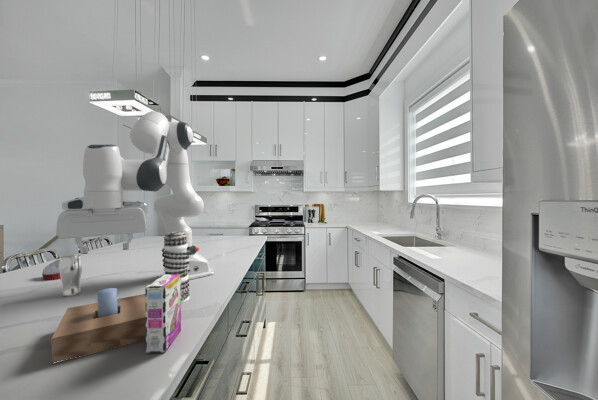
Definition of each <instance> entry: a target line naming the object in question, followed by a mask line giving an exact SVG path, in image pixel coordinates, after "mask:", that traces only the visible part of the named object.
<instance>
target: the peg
mask: <svg viewBox="0 0 598 400" xmlns="http://www.w3.org/2000/svg"><path fill="white" fill-rule="evenodd" d="M96 295H97V297H96V298H97V303H98V318H100V317H105V316H109V315H114V314H118V307H117V299H118V289H117V288H116V287H109V288H104V289H100V290H98V291H97V293H96Z"/></svg>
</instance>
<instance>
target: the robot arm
mask: <svg viewBox="0 0 598 400" xmlns="http://www.w3.org/2000/svg"><path fill="white" fill-rule="evenodd" d="M129 139H130V142H131V143H132V145H133V146H134V147H135V148H136V149H137V150H139V151H140V152H143V153H145V154H148V155H149V154H150V155H152V156H151V157H150V158H145V159H125V158H124V157H122V156H121V151H120V148H119V146H118V145H116V144H89V145H87V146H86V147H85V148H84V149H85V150H84V153H83V159H82V165H83V166H82V176H83V178H84V182H85V183H84V188H83V196H82V197H75V198H73V199H70V200H66V201H63V202H62V203H61V208H62V210H63V211H62V212H61V213H59V215H58V218H57V222H56V231H55V232H56V237H57V238H59V239H60V240H64V239H66V240H67V239H74V243H75V244H76V245H77V247H78V248H79V249H80V255H88V254H89V247H88V246H85V245H84V244H83V243H82V241H83V238H90V237H102V236H103V237H104V236H105V237H106V236H115V235H126V237H127V240H126V242H123V243H122V250H123V251H126V250H130V246H129V245H130V243H131V241H132V239H133V238H134V234H140V233H141V234H142V233H145V232H146V231H147V220H146V219H147V218H146V215H147V214H148V206H147V204H146V203H145V202H142V201H139V200H136V201H124V191H127V192H128V191H130V192H132V191H135V192H136V191H137V192H138V191H146V192H158V191H160V190H161V189H162V188H163V187H164V186H165V185H167V186H168V187H170V189H171V191H172V194H170V193H168V194H164V195H163V194H162V195H160V196H158V197H157V198H156V199H155V200H154V202H153V211H154V212H155V214H157V215H158V216H159V217H160V218H161V219H160V220H161V221H162V224H163V225H164V229H165V235H166V234H167V233H169V232H176V231H182V232H184V233H185V234H186V235H188V236H187V238H186V239H187V246H188V247H190V248H189V249H187V252H189V254H188V255H187V256H189V258H188V259H187V261H188V262H189V264H187V265H188V266H189V267H188V268H187V271H188V272H187V274H188V279H189V281H191V280H194V279H199V278H202V277H204V278H205V277H206V276H207V277H208V276H213V275H214V274H215V270H214V268H213V267H211V266H210V263H209V261H208V259H207V258H206V257H204V256H203V255H201V254H200V253H198V252H199V251H200V248H199V247H198V246H196V245H193V231H192V228H191V227H190V226H189V225H188V224H187V223H186V221H185V219H184V218H194V217H195V218H196V217H198V216H201V214H202V213H203V212H204V208H205V203H204V200H203V198H202V197H200V196H199V194H198V193H197V192H196V191H195V189H194V187H193V185H192V182H191V178H190V165H189V164H190V163H189V157H188V151H187V149H188V148H189V147H190V146H191V144H192V143H193V141H194V131H193V128H192V126H190V124H189V123H187V122H183V121H178V122H177V121H169V119H168V118H167V117H166V116H165V115H164V113H161V112H159V111H149V112H146V113H145V114H143V115H142V116H141V117H139V119H137V121H135V123H134V124H133V125H132V127H131V129H130V132H129Z"/></svg>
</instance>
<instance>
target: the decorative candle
mask: <svg viewBox="0 0 598 400" xmlns="http://www.w3.org/2000/svg"><path fill="white" fill-rule="evenodd" d="M187 236H188V235H186V234H185V233H184V232H182V231H176V232H169V233H167V234H166V233H165V236H163V241H164V242H163V243H164V245H163V248H162V249H161V252H162V253H161V257H163V258H162V267H163V271H164V275H166V274H181V304H183V303H186V302H188V301H189V300H190V288H189V286H190V283H189V282H190V280H189V279H188V274H187V272H188V271H187V268H188V267H189V266H188V265H187V264H189V262H188V261H187V259H188V258H189V256H187V255H188V254H189V252H187V249H189V248H190V247H188V246H187V239H186V238H187Z"/></svg>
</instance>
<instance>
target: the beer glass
mask: <svg viewBox="0 0 598 400" xmlns="http://www.w3.org/2000/svg"><path fill="white" fill-rule="evenodd" d="M58 260H59V273H60V277H61V279H60V280H61V283H62V285H61V286H62V288H61V289H62V290H61V297H63V298H66V297H72V296H73V297H74V296H77V295H79V294H81V293H82V288H81V278H82V271H83V260H82V254H78V253H77V254H68V255H63V256H60V257H59V259H58Z"/></svg>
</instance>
